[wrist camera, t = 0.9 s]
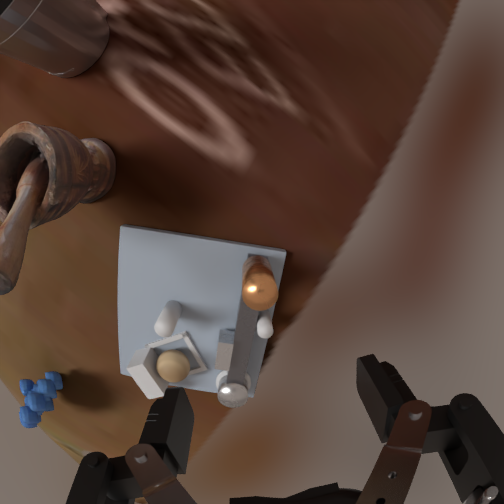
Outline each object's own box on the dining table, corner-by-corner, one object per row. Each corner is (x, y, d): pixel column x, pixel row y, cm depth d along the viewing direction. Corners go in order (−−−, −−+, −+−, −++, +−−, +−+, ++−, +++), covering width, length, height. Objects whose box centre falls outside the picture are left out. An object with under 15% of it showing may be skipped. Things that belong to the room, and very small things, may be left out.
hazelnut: (160, 340, 34) (152, 358, 30) (193, 346, 34) (188, 365, 30) (160, 366, 35) (152, 385, 31) (191, 371, 35) (186, 392, 31)
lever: (245, 396, 36) (246, 442, 28) (211, 391, 35) (205, 437, 28) (275, 253, 31) (286, 280, 23) (232, 246, 31) (229, 272, 23)
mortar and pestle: (155, 186, 31) (42, 211, 11) (108, 242, 32) (-8, 318, 13) (90, 120, 28) (-40, 91, 9) (49, 177, 30) (-80, 197, 10)
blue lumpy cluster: (47, 339, 35) (4, 384, 24) (81, 369, 37) (46, 421, 25) (30, 376, 37) (-5, 418, 26) (59, 402, 39) (30, 448, 27)
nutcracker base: (124, 224, 32) (101, 235, 26) (284, 249, 33) (293, 266, 27) (123, 368, 37) (109, 395, 31) (253, 391, 38) (254, 422, 32)
